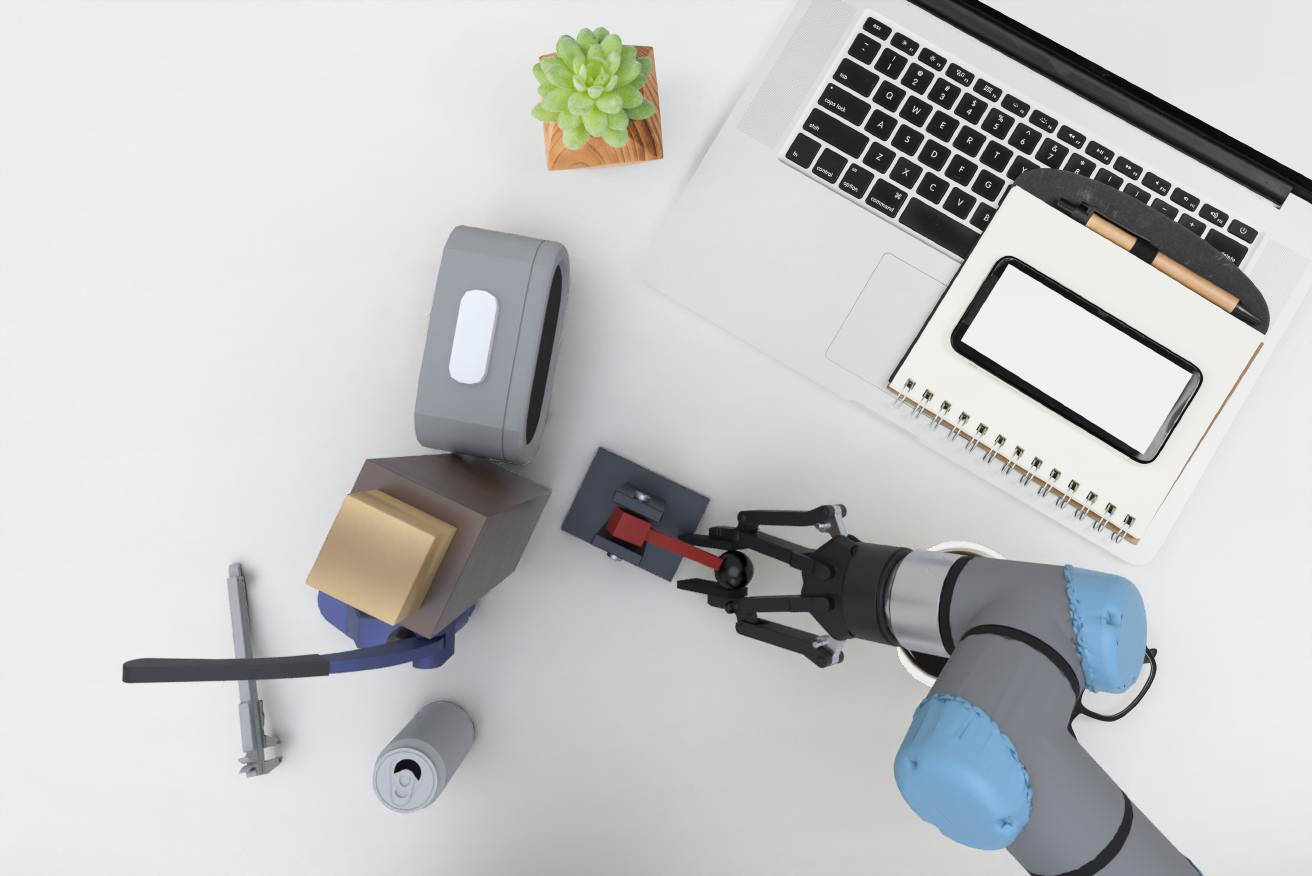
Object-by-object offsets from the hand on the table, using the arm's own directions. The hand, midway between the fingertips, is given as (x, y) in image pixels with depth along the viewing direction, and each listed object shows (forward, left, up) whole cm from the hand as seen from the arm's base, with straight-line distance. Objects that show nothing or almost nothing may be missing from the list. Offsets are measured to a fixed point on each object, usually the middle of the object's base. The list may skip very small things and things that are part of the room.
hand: (687, 560), depth 79 cm
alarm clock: (+11, +25, -3) cm, 27 cm away
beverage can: (-26, +15, -3) cm, 30 cm away
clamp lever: (+2, +2, +5) cm, 6 cm away
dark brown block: (-4, +20, -3) cm, 20 cm away
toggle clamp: (+2, +7, -3) cm, 7 cm away
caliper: (-28, +35, -3) cm, 45 cm away
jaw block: (-4, +20, +25) cm, 32 cm away
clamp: (-16, +24, -3) cm, 30 cm away
